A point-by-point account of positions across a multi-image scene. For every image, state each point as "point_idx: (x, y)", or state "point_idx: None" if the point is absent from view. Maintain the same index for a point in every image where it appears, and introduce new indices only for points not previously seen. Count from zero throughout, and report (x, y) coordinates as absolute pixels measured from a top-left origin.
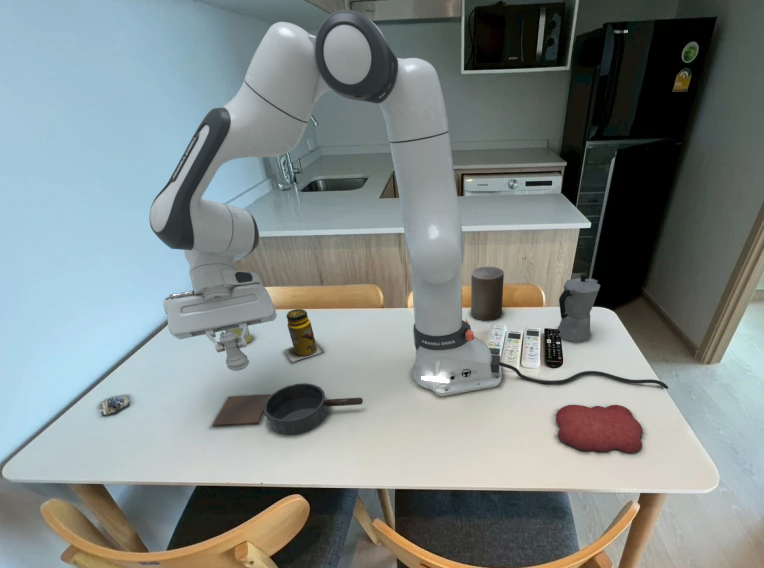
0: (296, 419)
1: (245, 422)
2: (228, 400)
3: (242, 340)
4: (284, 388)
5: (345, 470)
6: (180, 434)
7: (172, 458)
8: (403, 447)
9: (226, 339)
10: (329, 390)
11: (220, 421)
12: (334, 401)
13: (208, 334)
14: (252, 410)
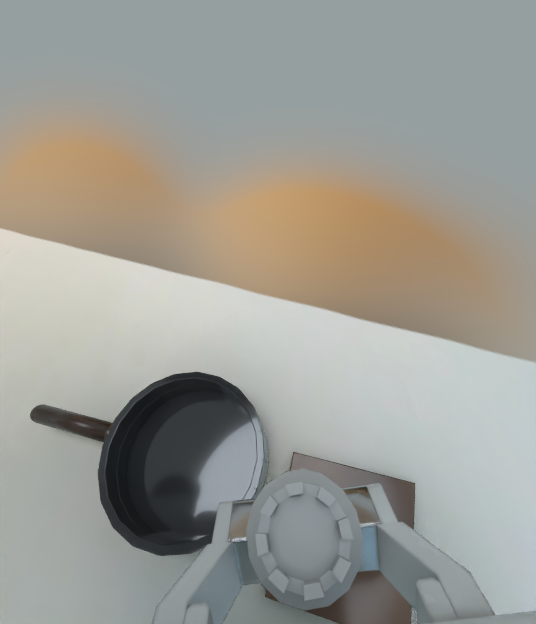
0: (188, 373)
1: (324, 461)
2: (403, 614)
3: (226, 518)
4: (201, 538)
5: (147, 281)
6: (496, 479)
7: (470, 390)
8: (47, 302)
9: (303, 477)
10: (95, 551)
11: (395, 491)
12: (90, 421)
13: (454, 581)
14: None
